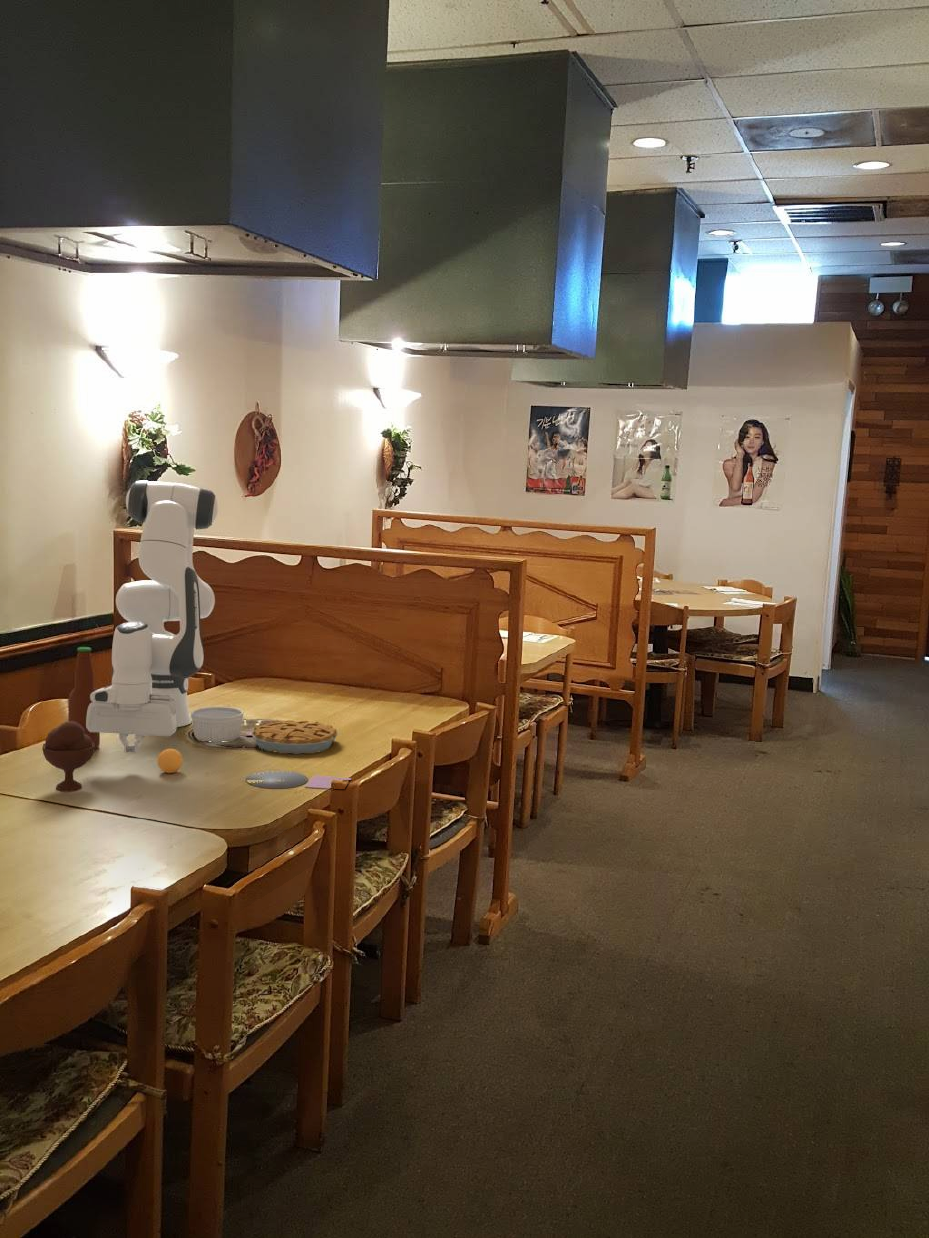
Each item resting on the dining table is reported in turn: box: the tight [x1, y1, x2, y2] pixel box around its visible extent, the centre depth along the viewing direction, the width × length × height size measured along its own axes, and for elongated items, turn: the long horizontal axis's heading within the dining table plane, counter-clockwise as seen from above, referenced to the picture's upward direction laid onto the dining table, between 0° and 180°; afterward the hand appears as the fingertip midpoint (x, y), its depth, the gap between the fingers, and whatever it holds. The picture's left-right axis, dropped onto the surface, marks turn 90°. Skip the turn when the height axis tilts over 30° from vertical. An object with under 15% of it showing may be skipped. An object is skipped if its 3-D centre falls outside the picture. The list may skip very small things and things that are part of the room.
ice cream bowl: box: [41, 721, 95, 792], centre depth 239 cm, size 11×11×15 cm
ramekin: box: [190, 706, 244, 743], centre depth 288 cm, size 13×13×7 cm
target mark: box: [245, 770, 309, 790], centre depth 254 cm, size 14×14×1 cm
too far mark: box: [304, 775, 352, 790], centre depth 253 cm, size 9×9×1 cm
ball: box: [157, 748, 184, 774], centre depth 255 cm, size 6×6×6 cm
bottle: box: [67, 646, 101, 750], centre depth 271 cm, size 7×7×25 cm
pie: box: [251, 720, 338, 755], centre depth 285 cm, size 22×22×5 cm
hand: (131, 752), depth 255 cm, fingers closed
